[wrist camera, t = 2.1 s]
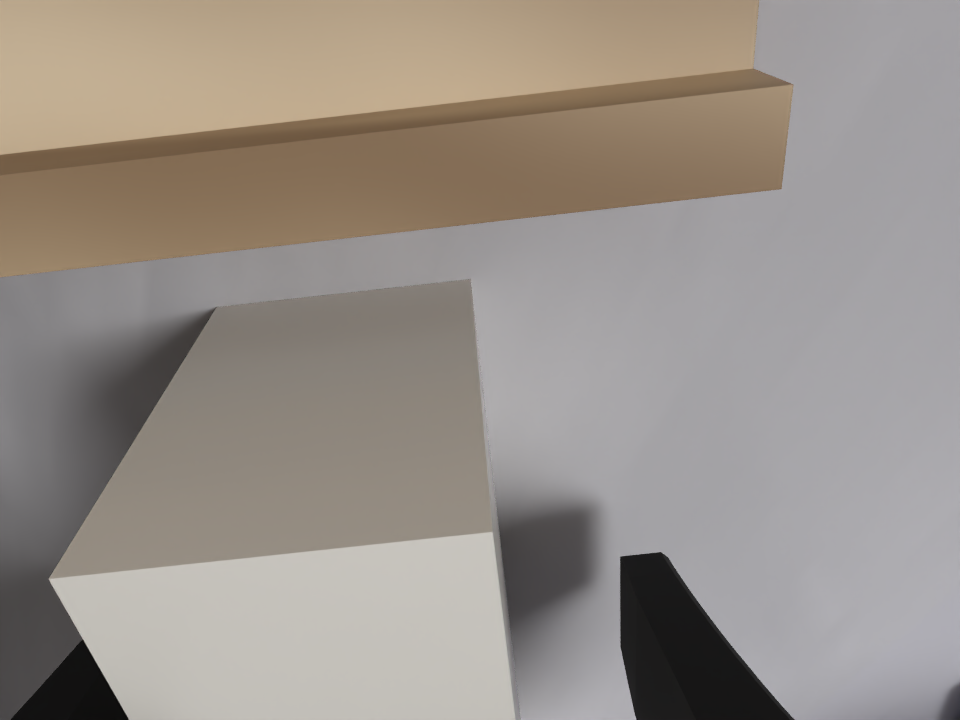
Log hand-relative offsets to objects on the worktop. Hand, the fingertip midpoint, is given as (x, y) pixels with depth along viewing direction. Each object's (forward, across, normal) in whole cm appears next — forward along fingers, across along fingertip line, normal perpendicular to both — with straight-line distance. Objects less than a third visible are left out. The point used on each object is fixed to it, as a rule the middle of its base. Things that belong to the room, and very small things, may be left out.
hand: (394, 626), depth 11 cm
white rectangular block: (+2, 0, 0) cm, 2 cm away
